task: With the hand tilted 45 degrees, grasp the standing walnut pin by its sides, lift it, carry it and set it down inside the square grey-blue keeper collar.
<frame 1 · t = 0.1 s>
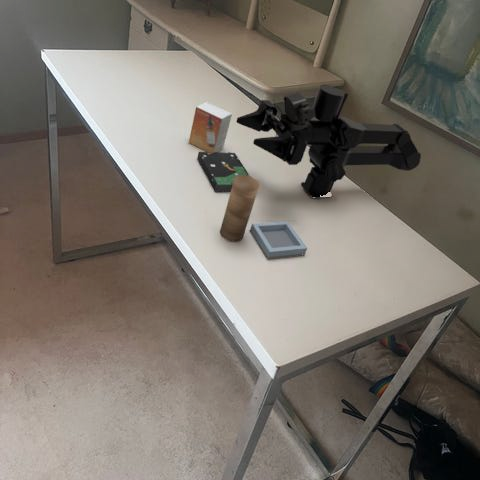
hand: (245, 130, 97), 17 cm above the table, tool horizontal, fingers open, 9 cm apart
disk drive: (224, 177, 114), on the table
walnut pin: (231, 233, 96), on the table
small box: (205, 146, 123), on the table
keeper collar: (276, 242, 98), on the table
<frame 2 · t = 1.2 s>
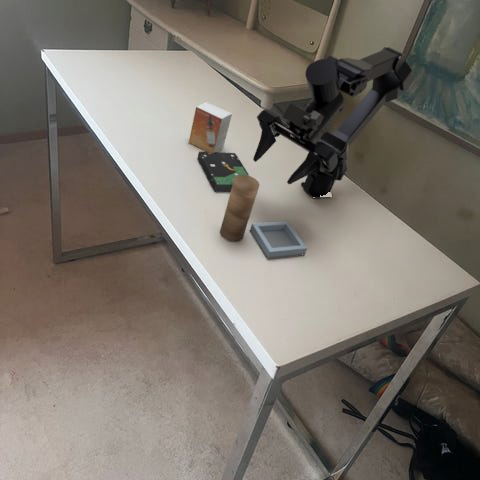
hand: (270, 171, 93), 13 cm above the table, tool tilted 45°, fingers open, 9 cm apart
nothing on the table moved.
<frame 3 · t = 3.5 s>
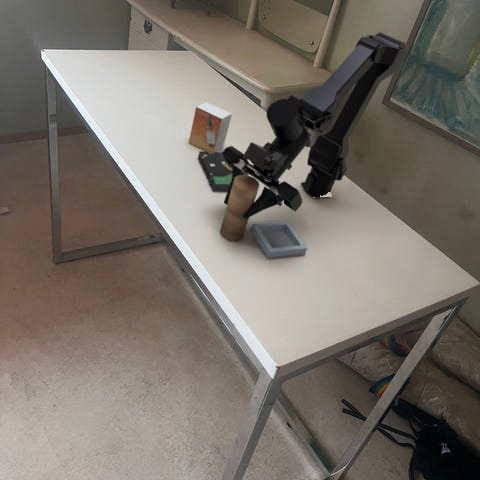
hand: (234, 210, 91), 7 cm above the table, tool tilted 45°, fingers closed on walnut pin, 5 cm apart
walnut pin: (231, 233, 96), on the table, touching gripper
everything else where it was.
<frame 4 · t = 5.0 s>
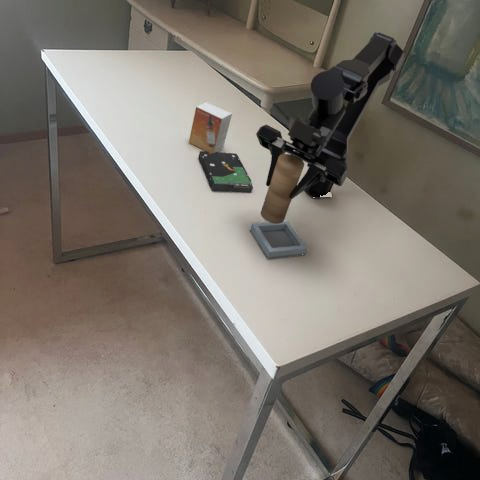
hand: (278, 191, 88), 13 cm above the table, tool tilted 45°, fingers closed on walnut pin, 5 cm apart
walnut pin: (272, 215, 93), point 7 cm above the table, touching gripper
everything else where it was.
when the fingers open (9 cm above the table, at t = 6.5 s): walnut pin drops 2 cm, resting on keeper collar.
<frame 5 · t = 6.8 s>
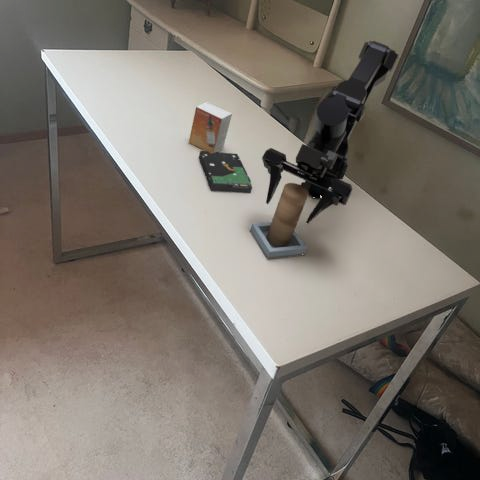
hand: (286, 213, 91), 9 cm above the table, tool tilted 45°, fingers open, 9 cm apart
walnut pin: (277, 240, 97), point 1 cm above the table, touching keeper collar
everything else where it was.
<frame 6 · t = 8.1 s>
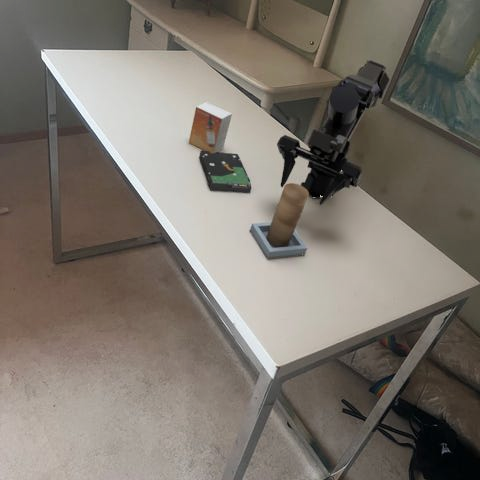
hand: (300, 195, 97), 9 cm above the table, tool tilted 45°, fingers open, 9 cm apart
nothing on the table moved.
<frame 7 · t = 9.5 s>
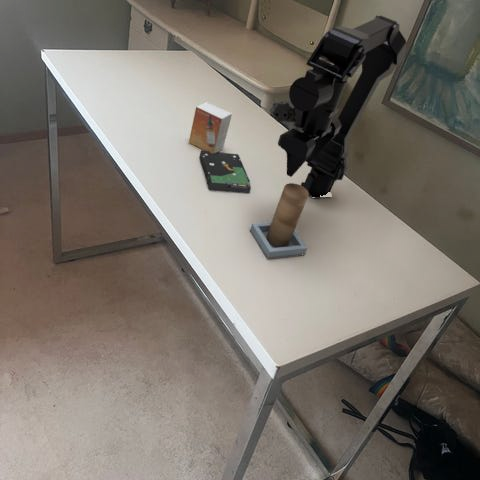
hand: (298, 168, 98), 13 cm above the table, tool pointing down, fingers open, 9 cm apart
nothing on the table moved.
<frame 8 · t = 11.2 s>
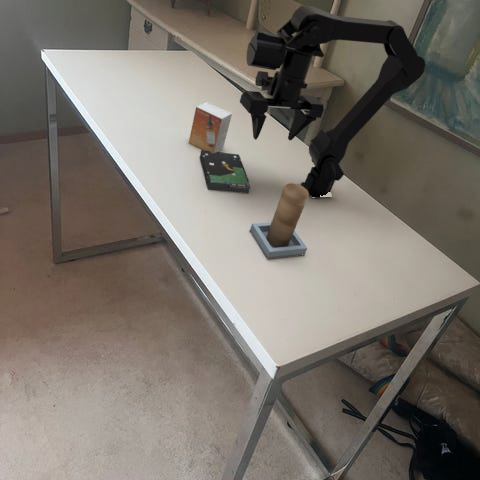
hand: (272, 139, 106), 13 cm above the table, tool pointing down, fingers open, 9 cm apart
nothing on the table moved.
at the end: walnut pin 0.1 cm from the keeper collar (horizontally); walnut pin tilted 0°; walnut pin point 0.5 cm above the table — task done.
